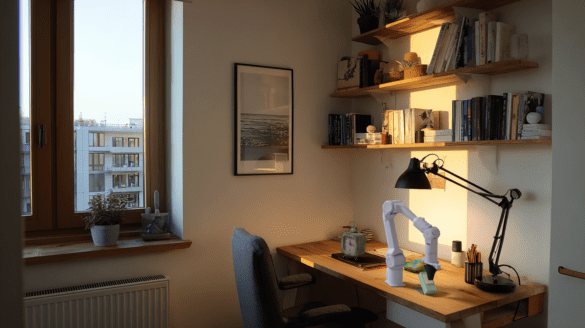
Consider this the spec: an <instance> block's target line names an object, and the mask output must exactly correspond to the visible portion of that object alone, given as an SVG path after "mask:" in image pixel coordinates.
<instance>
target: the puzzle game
mask: <svg viewBox="0 0 585 328" xmlns="http://www.w3.org/2000/svg"><path fill="white" fill-rule="evenodd" d="M426 264H427V263H425V262H422V258H417V259H413V260H408V261H406V263H405V264H404V267H403V270H407V271H410V272H413V273H417V274H418V273H419V274H420V272H426V270H425V268H424V265H426Z"/></svg>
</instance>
